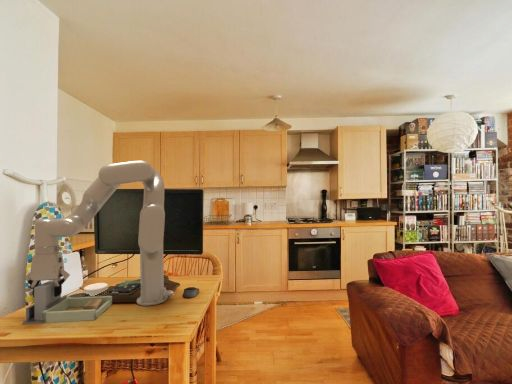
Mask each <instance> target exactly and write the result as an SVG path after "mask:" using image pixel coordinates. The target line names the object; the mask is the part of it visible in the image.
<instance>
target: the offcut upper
mask: <svg viewBox="0 0 512 384" xmlns="http://www.w3.org/2000/svg"><path fill="white" fill-rule="evenodd" d="M101 305H102V299H92V300H90V301H89V302H88V303H87V304H86V305H85V306H84V307H83V310H90V309H96V310H97V309H99V307H100V306H101Z"/></svg>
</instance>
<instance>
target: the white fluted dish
mask: <svg viewBox="0 0 512 384" xmlns="http://www.w3.org/2000/svg"><path fill="white" fill-rule="evenodd" d="M107 289H108V290H109V284H108V283H106V282H97V283H91V284H89V285H86V286H85V287H84V288H83V294H84V293H86V294H89V295H90V296H89V297H96V296H95V295H97V294H99V293H101V292H103V291H105V290H107Z"/></svg>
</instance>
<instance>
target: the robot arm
mask: <svg viewBox="0 0 512 384" xmlns="http://www.w3.org/2000/svg"><path fill="white" fill-rule="evenodd" d="M137 182H140V183H142V185H143V201H142V202H143V203H142V208H141V210H140V212H139V224H138V240H137V241H138V242H137V243H138V247H139V272H140V273H139V275H140V276H139V277H140V279H139V281H140V289H139V290H140V296H139V297H138V298H137V299H136V303H137V305H139V306H143V307H144V306H145V307H146V306H155V305H159V304H162V303H165V302H166V301H167V300H168V297H174V296H175V291H173V290H172V289H171V290H170V289H169V290H167V288H166V286H165V283H164V282H165V279H164V277H165V274H164V273H165V272H164V270H165V269H164V264H165V263H164V237H165V234H164V233H165V222H166V221H165V219H166V218H165V217H166V211H165V182H164V179H163V177H162V175H161V174H160V173H159V171H158V170H156V169H155V168H154V167H153V166H152V165H151V164H150V163H149V162H148V161H146V160H141V159H139V160H132V161H131V160H130V161H125V162H116V163H109V164H105V165H103V166H102V167H101V168H100V169H99V171H98V176H97V177H96V179H95V180H94V181H93V182H92V183H91V184H90V185H89V187H87V189H86V190H84V193H83V194H82V199H81V202H80V204H79V205H78V206H77V208H76V209H75V210H74V211H73V212H72V213H71V214H70V215H69V216H68V217H64V218H63V217H62V218H59V219H57V218H53V217H52V218H38V219H36V220H35V222H34V226H33V227H34V254H33V255H32V258H31V265H30V272H28V273H27V274H26V275H25V276H24V280H25V281H26V282H27V283H28V284H29V285H30V287H31V288H32V295H33V299H34V288H35V287H37V286H39V285H40V284H41V282H42V281H50V280H53V281H54V283H55V285H56V286H55V287H54V297H57V296H59V295H61V296H62V292H63V288H62V287H63V286H62V285H63V284H64V283H65V282H66V281H67V279H68V278H69V277H70V276H71V274H70V273H68V272H67V271H66V270H65V265H64V264H65V263H64V259H63V254H62V252H60V251H62V250H63V247H62V246H60V241H59V240H60V237H61V238H69V237H70V238H71V237H72V236H75V235H78V234H79V233H81V232H82V231H83V230H84V229H85V228H86V227H87V226H88V225H89V223H91V221H92V220H93V219H94V217H95V216H96V215H97V213H98V212H99V211H100V210H101V209H102V207H103V206H104V205H105V204H106V202H108V200H109V199H110V198H111V196H112V195H113V194H114V193H115V192H116V190H118V188H119V187H120V186H121V185H122V184H123V185H124V184H130V183H137Z"/></svg>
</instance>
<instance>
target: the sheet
mask: <svg viewBox="0 0 512 384" xmlns="http://www.w3.org/2000/svg"><path fill="white" fill-rule="evenodd" d="M55 286H56V285H55V283H54V281H53V280H47V281H45V282H44V283H40V284H39V286H37V287H35V288H34V298H33V300H34V302H33V304H34V319H33V320H43V311H44V307H46V306H48V305H49V304H51V303H53V302H55V301H56V300H58V299H60V298H61V297H62V294H61V295H59V296H57V297H54V287H55Z"/></svg>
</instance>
